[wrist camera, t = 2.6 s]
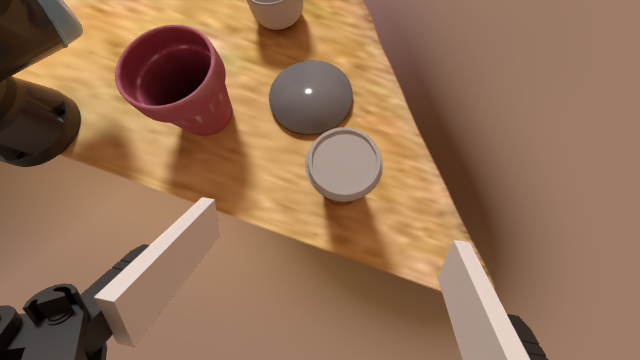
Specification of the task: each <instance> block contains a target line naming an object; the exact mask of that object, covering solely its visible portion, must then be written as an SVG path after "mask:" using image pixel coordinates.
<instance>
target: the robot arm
mask: <svg viewBox="0 0 640 360" xmlns="http://www.w3.org/2000/svg"><path fill="white" fill-rule="evenodd" d="M82 33H83V28H82V25H81V23H80V22H79V20H78V19H77V17H76V16H75V15H74V13H73V12H72V11H71V10H70V8H69V7H68V6H67V5H66V3H65V2H64V1H63V0H0V161H2V162H6V163H9V164H12V165H16V166H21V167H30V166H36V165H40V164H43V163H45V162H47V161H50V160H51V159H53V158H55V157H56V156H57V155H59V154H60V153H61V152H63V151H64V150H65V149H66V148H67V147H68V145H69V144H70V143H71V142H72V140H73V139H74V137H75V135H76V133H77V131H78V128H79V124H80V112H79V109H78V107H77V105H76V103H75V102H74V101H73V100H72V99H70V98H69V97H67V96H65V95H64V94H62V93H60V92H59V91H57V90H54V89H52V88H48V87H45V86H42V85H38V84H35V83H32V82H28V81H25V80H22V79H19V78H15V77H13V76H12V75H14V74H16V73H18V72H20V71H21V70H23V69H25V68H27V67H29V66H31V65H33V64H35V63H37V62H38V61H40V60H42V59H44V58H46V57H48V56H50V55H52V54H54V53H55V52H57V51H59V50H61V49H63V48H67V47H68V44H70V43H71V42H73V41H74V40H76V39H77V38H79V37H80V36H81V35H82ZM218 238H219V229H218V221H217V213H216V205H215V199H210V198H204V197H202V198H201V199H200V200H199V201H197V202H196V203H195V204H194V205H193V206H192V207H191V208H190V209H189V210H188V211H187V212H186V213H185V214H183V215H182V216H181V217H180V218H179V219H178V220H177V221H176V222H175V223H174V224H173V225H172V226H170V227H169V228H168V229H167V230H166V231H165V232H164V233H163V234H162V235H161V236H160V237H158V238H157V240H155V241H154V242H153V243H152V244H151V245H145V244H143V245H141V246H139V247H137V248H136V249H134V250H132V251H130V252H129V253H128V254H127V255H126V256H124V257H123V258H122V259H121V261H120V262H118V263H116V264H115V265H114V266H113V267H112V269H110V270H108V271H107V272H106V273H105V274H104V275H103V276H102V277H100V278H99V279H98V280H97V281H96V282H95V283H93V284H92V285H91V286H90V287H89V288H88V289H87V290H85V291H84V292H83V293H82V294H81V295H80V294H79V292H78V291H77V289H76V287H75V286H73V285H72V284H59V285H54V286H52V287H49V288H46V289H44V290H42V291H41V292H39V293H37V294H35V295H34V296H33V297H32V298H31V299H29V300H28V301H27V302H26V304H25V305H24V307H23V310H24V311H25V312H26V314H18V313H17V311H16V310H15V309H14V308H13V307H11V306H0V360H106V354H107V353H106V352H107V345H106V341H107V340H108V339H109V338H110V337H111V335H113V336H114V338H115V340H116V342H117V343H119V344H124V345H128V346H132V347H135V346H136V345H137V344H138V342H139V341H140V340H141V338H142V337H143V336H144V334H145V333H146V332H147V331H148V329H149V328H150V327H151V325H152V324H153V323H154V321H155V320H156V319H157V318H158V316H159V315H160V314H161V312H162V311H163V310H164V308H165V307H166V306H167V304H168V303H169V302H170V301H171V299H172V298H173V297H174V295H175V294H176V292H177V291H178V290H179V289H180V288H181V286H182V285H183V284H184V282H185V281H186V280H187V278H188V277H189V276H190V275H191V273H192V272H193V271H194V269H195V268H196V267H197V265H198V264H199V263H200V261H201V260H202V259H203V258H204V256H205V255H206V254H207V252H208V251H209V250H210V248H211V247H212V246H213V244H214V243H215V242H216V241H217V239H218ZM438 280H439V283H440V287H441V290H442V293H443V296H444V300H445V303H446V306H447V310H448V313H449V316H450V319H451V323H452V326H453V329H454V332H455V335H456V339H457V342H458V345H459V348H460V352H461V355H462V359H463V360H548V359H547V358H546V355H545V353H544V351H543V350H542V348H541V347H540V346H539V343H538V341H537V339H536V338H535V336H534V334H533V332H532V331H531V329H530V328H529V327H528V326H527V325H526V324H525V323H524V322H523V321H522V319H521V318H520V317H519V316H515V315H510V314H506V312H505V310H504V308H503V307H502V305H501V303H500V301H499V299H498V297H497V295H496V293H495V291H494V289H493V287H492V285H491V283H490V281H489V280H488V278H487V276H486V274H485V272H484V270H483V268H482V266H481V264H480V262H479V260H478V258H477V256H476V255H475V253H474V251H473V249H472V247H471V245H470V243H469V242H463V241H457V240H454V241H453V243H452V245H451V247H450V250H449V252H448V254H447V256H446V259H445V261H444V263H443V265H442V268H441V270H440V272H439V275H438Z"/></svg>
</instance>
